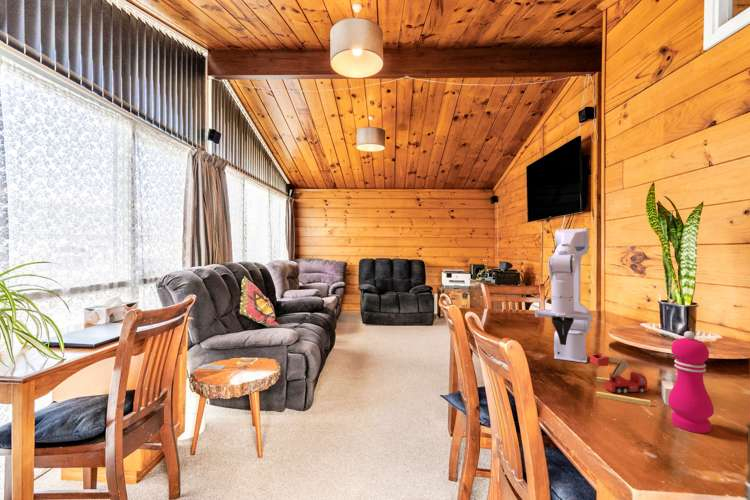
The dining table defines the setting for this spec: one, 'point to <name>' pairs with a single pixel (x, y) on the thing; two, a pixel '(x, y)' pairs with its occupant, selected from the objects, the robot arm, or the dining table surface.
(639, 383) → the toy fire truck
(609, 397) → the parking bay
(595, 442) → the dining table surface
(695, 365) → the pepper mill
